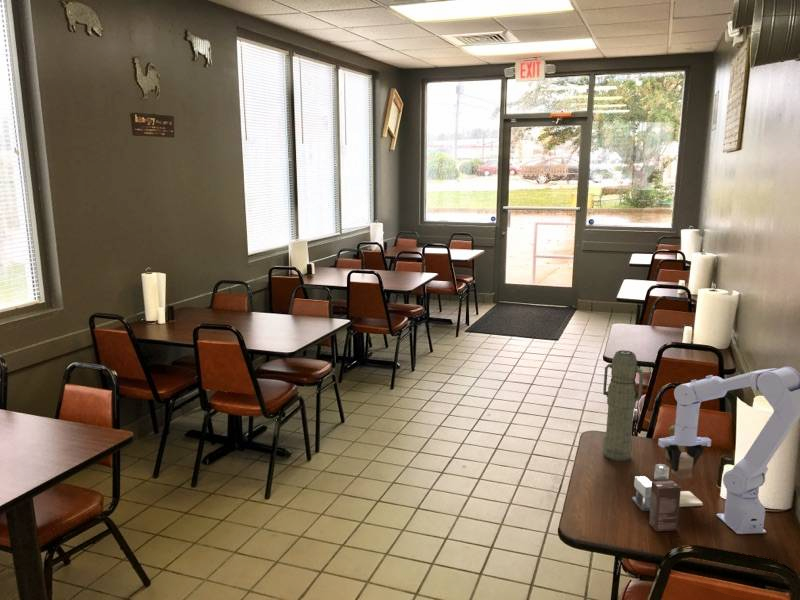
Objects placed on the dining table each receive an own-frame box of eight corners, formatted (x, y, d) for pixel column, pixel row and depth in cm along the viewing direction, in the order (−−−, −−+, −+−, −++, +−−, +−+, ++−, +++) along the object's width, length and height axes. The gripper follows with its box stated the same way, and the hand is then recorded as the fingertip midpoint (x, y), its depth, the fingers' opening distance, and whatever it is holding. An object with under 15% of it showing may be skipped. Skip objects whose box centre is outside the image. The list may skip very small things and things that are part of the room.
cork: (660, 456, 210) (663, 424, 208) (674, 453, 213) (677, 421, 211) (675, 463, 205) (678, 431, 203) (689, 460, 207) (692, 428, 205)
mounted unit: (655, 510, 175) (657, 486, 174) (642, 511, 175) (644, 487, 173) (644, 499, 181) (646, 476, 180) (631, 499, 181) (633, 476, 180)
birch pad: (702, 505, 178) (702, 503, 178) (678, 506, 177) (678, 503, 177) (689, 493, 185) (689, 491, 185) (665, 494, 184) (666, 491, 184)
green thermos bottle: (635, 463, 204) (645, 357, 198) (597, 457, 208) (605, 353, 202) (636, 453, 212) (645, 351, 206) (599, 447, 216) (607, 347, 210)
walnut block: (691, 478, 181) (693, 458, 180) (678, 478, 180) (679, 458, 179) (684, 471, 185) (686, 452, 184) (670, 472, 184) (672, 452, 183)
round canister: (670, 482, 192) (672, 469, 191) (658, 482, 192) (659, 469, 191) (664, 476, 196) (665, 463, 195) (651, 476, 196) (652, 464, 195)
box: (668, 522, 169) (673, 479, 167) (677, 531, 165) (682, 487, 162) (647, 522, 168) (651, 480, 166) (655, 532, 164) (659, 488, 162)
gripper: (703, 418, 184) (698, 463, 187) (654, 419, 183) (650, 464, 185) (717, 428, 177) (712, 473, 180) (667, 429, 176) (662, 475, 179)
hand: (681, 469), depth 182 cm, fingers closed on walnut block, 4 cm apart
